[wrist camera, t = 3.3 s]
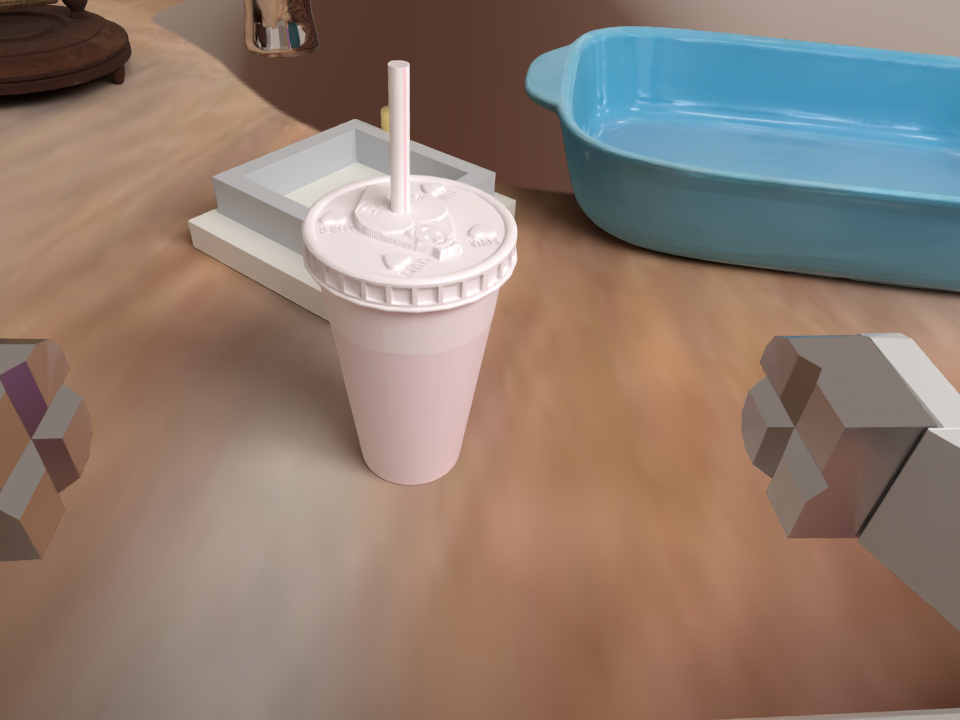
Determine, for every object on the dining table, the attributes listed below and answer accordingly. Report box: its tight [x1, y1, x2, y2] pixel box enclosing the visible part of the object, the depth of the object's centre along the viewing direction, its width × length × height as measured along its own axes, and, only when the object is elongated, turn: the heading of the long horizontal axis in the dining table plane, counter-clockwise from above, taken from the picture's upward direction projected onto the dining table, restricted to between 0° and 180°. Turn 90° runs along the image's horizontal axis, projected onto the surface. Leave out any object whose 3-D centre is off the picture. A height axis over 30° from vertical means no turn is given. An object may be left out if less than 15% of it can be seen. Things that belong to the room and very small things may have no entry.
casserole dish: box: [525, 26, 960, 292], centre depth 43 cm, size 37×22×7 cm, turn 81°
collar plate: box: [188, 105, 516, 321], centre depth 37 cm, size 11×13×4 cm
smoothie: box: [302, 61, 517, 485], centre depth 23 cm, size 6×6×14 cm
